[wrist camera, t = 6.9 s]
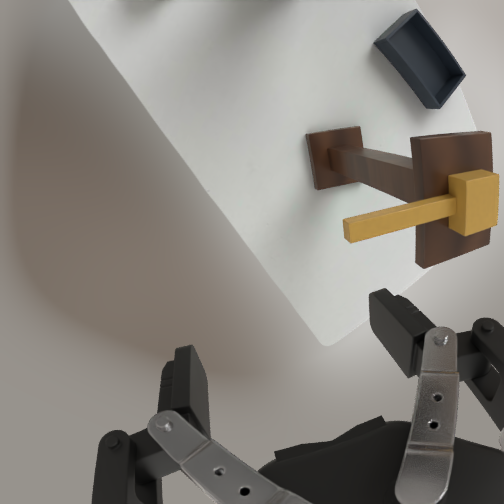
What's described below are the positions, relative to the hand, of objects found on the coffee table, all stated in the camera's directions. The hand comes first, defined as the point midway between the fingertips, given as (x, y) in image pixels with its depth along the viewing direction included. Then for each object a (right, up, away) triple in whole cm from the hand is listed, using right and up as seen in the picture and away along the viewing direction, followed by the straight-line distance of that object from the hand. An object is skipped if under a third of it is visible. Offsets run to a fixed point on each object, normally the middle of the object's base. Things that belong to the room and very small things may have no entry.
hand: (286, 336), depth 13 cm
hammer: (+13, +7, +11) cm, 19 cm away
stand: (+14, +21, +40) cm, 47 cm away
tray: (+31, +42, +34) cm, 63 cm away
